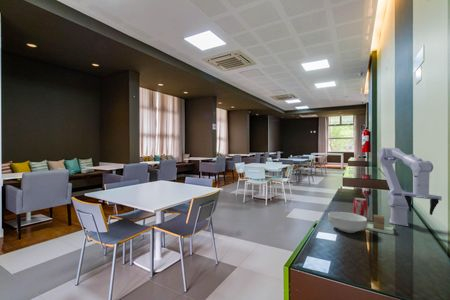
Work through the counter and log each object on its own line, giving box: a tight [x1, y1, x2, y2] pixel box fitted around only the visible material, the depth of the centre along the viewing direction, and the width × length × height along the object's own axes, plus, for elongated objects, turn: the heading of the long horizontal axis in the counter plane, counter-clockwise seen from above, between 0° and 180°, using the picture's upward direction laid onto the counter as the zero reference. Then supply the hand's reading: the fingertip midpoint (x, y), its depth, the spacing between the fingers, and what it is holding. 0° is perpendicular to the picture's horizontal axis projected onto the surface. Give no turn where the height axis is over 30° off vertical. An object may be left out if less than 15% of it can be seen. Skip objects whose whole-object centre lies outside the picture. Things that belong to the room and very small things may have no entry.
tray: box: [363, 220, 395, 236], centre depth 112 cm, size 12×12×1 cm
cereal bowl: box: [327, 211, 368, 234], centre depth 109 cm, size 17×17×7 cm
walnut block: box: [372, 214, 385, 230], centre depth 112 cm, size 4×4×6 cm
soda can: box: [352, 197, 368, 220], centre depth 127 cm, size 7×7×12 cm
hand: (420, 212), depth 108 cm, fingers open, 7 cm apart
